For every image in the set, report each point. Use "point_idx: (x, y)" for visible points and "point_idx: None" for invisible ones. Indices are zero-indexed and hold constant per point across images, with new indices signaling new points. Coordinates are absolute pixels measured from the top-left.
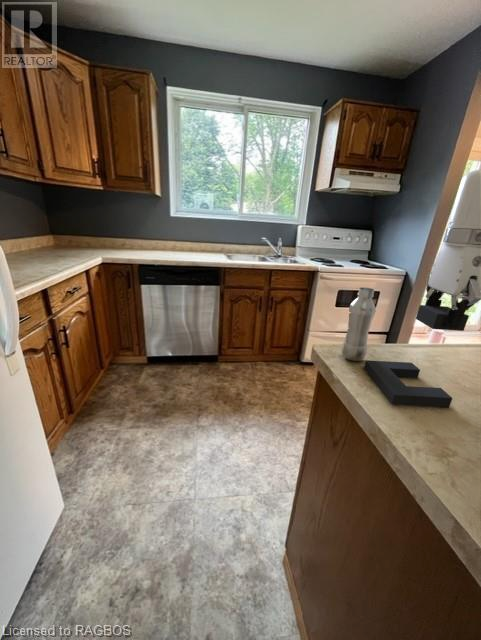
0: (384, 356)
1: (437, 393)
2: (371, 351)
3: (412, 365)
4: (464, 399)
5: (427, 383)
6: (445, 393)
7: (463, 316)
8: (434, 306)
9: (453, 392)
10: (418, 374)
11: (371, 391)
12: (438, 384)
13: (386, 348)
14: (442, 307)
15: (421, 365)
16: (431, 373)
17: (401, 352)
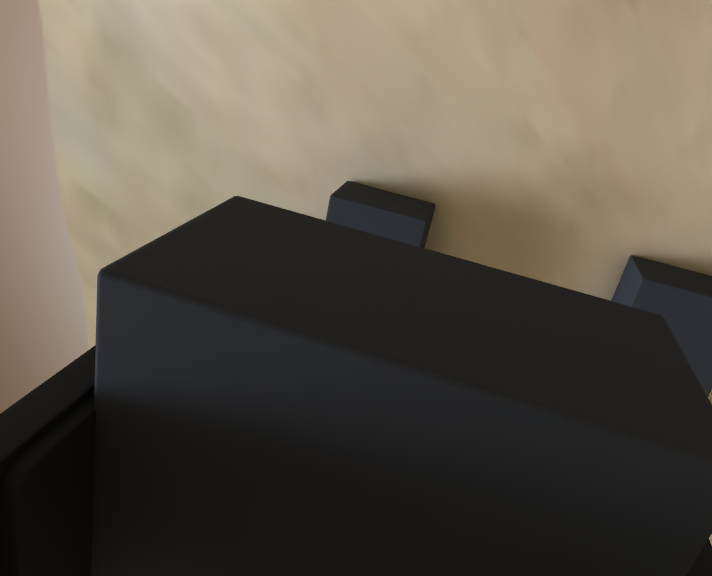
0: (167, 196)
1: (685, 354)
2: (108, 232)
3: (367, 224)
4: (702, 97)
5: (493, 184)
6: (701, 306)
7: (688, 539)
8: (139, 540)
9: (619, 99)
10: (431, 212)
11: None
12: (518, 118)
13: (54, 92)
14: (179, 454)
15: (285, 21)
16: (391, 41)
17: (103, 19)
